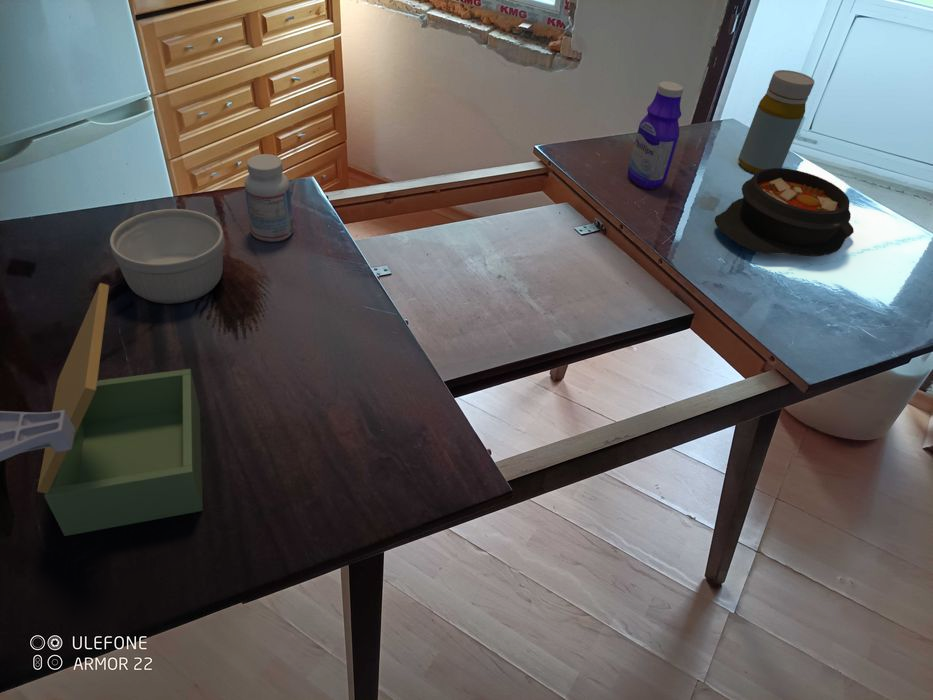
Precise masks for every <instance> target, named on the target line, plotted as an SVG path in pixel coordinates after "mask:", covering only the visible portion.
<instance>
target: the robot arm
mask: <svg viewBox="0 0 933 700" xmlns="http://www.w3.org/2000/svg"><path fill="white" fill-rule="evenodd" d="M74 432H75V428H74V426H73V424H72V422H71V420H70V418H69V417H68V415H67V413H66V411H65V410H60V411H53V412H52V411H45V412H41V411H40V412H39V411H38V412H34V411H33V412H32V411H12V410H11V411H8V410H0V540H4V539H8V538H10V537H11V536H12V533H13V530H14V529H13V528H14V524H15V521H16V520H15V519H16V514H15V511H14V508H13V505H12V503H11V499H10V494H9V489H8V482H7V460H8V459H10V458H11V457H14V456H16V455H19V454H22V453H27V452H32V451H37V450H43V449H45V448H47V447H52V448H53V449H54V451H55V452H61V451H66V450H71V449H72V445H73V440H74Z"/></svg>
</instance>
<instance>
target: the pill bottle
mask: <svg viewBox="0 0 933 700" xmlns="http://www.w3.org/2000/svg"><path fill="white" fill-rule="evenodd" d="M246 166H247V172H248V174H247V175H246V177H245V179H244V192H245V198H246V199H245V200H246V207H247V208H246V209H247V214H248V222H249V223H248V224H249V229H250V233H251V235H252V237H254V238H256V239H257V240H258V241H259V240H260V241H263V242H268V243H269V242H270V243H275V242H280V241H284V240H286V239H288V238H289V237H290V236H291V235H292V234H293V232H294V219H293V209H292V198H291V197H292V196H291V187H290V181H289V178H288V177H287V175H286V174H285V173H283V170H284V167H283V161H282V159H281V158H280V157H279V156H277V155H275V154H271V153H270V154H269V153H261V154H260V153H259V154H255V155H252V156H250V157H249V158H248V159H247V161H246Z"/></svg>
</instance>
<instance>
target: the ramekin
mask: <svg viewBox="0 0 933 700" xmlns="http://www.w3.org/2000/svg"><path fill="white" fill-rule="evenodd" d="M224 234H225V233H224V230H223V227H222V226H221V224H220V223H219V222H218V221H217V220H216V219H214V218H213V217H212V216H209V215H207V214H205V213H203V212H200V211H196V210H191V209H184V208H183V209H182V208H164V209H156V210H151V211H147V212H143V213H140V214H137V215H135V216H132V217H130V218H128V219H126V220H124V221H122V222H121V223H120V224H118V225H117V226H116V227H115V228H114V230H113V231H112V233H111V234H110V238H109V246H110V250H111V254H112V257H113V258H114V259H115V260H116V262H117V264H118V266H119V269H120V271H121V273H122V275H123V278H124V280H125V282H126V283H127V285H128V288H129V289H131V291H132V292H133V293H135V294H136V295H137V296H139V297H141V298H143V299H145V300H147V301H150V302H153V303H156V304H157V303H158V304H168V305H169V304H170V305H171V304H181V303H182V304H183V303H186V302H187V303H188V302H192V301H194V300H197V299H200V298H201V297H203V296H205V295H207V294H209V293H210V292H211V291H212V290H213V289H214V288H215V287H217V284H219V282H220V281H221V278H222V275H223V269H224V247H225V235H224Z"/></svg>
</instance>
